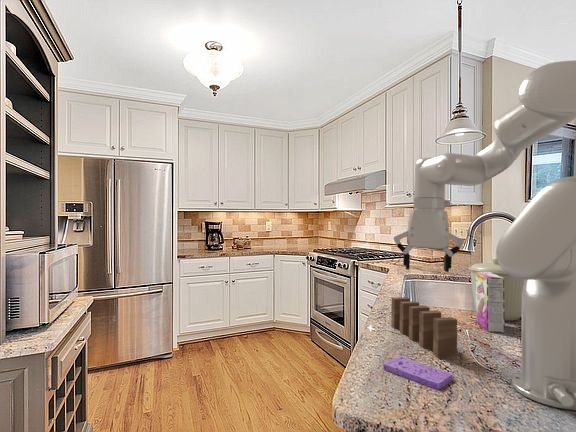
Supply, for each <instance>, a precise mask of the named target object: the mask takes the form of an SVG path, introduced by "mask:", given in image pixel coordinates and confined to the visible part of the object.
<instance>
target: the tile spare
mask: <svg viewBox="0 0 576 432" xmlns="http://www.w3.org/2000/svg"><path fill="white" fill-rule="evenodd" d="M432 352H433V353H432V354H433V355H432V356H434V357H435V358H437V359H444V358H445V359H448V358H458V319H456V318H455V317H450V316H449V317H441V318H433V348H432Z"/></svg>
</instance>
